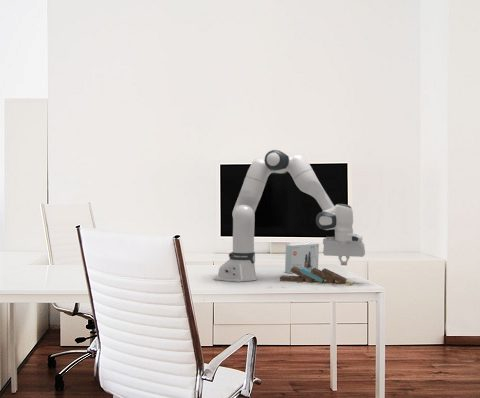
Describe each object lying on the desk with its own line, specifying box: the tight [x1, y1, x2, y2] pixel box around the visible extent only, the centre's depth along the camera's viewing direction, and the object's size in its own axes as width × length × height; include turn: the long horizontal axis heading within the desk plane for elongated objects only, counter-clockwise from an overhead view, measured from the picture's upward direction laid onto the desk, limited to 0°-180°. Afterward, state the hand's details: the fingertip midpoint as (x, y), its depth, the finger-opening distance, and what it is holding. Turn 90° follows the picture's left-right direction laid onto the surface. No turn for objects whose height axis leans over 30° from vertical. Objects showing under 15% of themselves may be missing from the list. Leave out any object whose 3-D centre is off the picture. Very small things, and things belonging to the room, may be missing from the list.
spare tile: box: [300, 267, 324, 283], centre depth 318 cm, size 2×6×12 cm
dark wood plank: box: [279, 274, 306, 283], centre depth 321 cm, size 2×6×12 cm
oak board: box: [296, 280, 355, 286], centre depth 316 cm, size 27×12×1 cm, turn 71°
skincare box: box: [284, 242, 320, 274], centre depth 360 cm, size 21×5×16 cm, turn 126°
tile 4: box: [290, 267, 315, 282], centre depth 320 cm, size 2×6×12 cm
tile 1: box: [321, 268, 347, 284], centre depth 315 cm, size 2×6×12 cm
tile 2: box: [310, 268, 336, 283], centre depth 316 cm, size 2×6×12 cm
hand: (343, 265), depth 313 cm, fingers closed
